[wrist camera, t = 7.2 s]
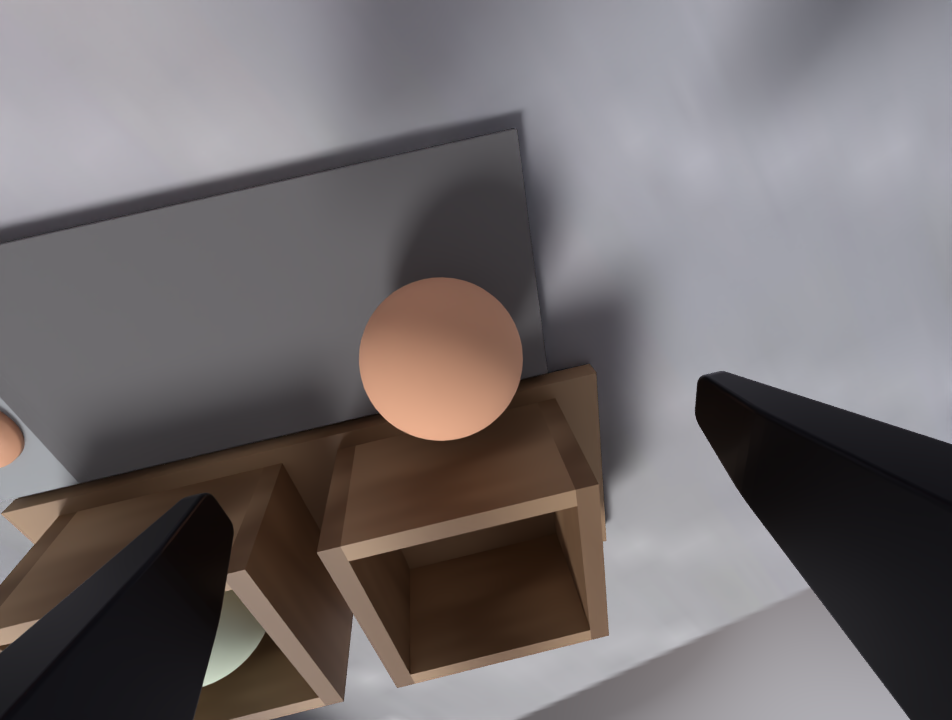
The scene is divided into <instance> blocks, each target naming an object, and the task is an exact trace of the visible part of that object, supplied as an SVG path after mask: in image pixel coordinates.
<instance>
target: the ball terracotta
mask: <svg viewBox="0 0 952 720" xmlns="http://www.w3.org/2000/svg"><path fill="white" fill-rule="evenodd" d="M522 366H523V354H522V344H521V340H520V336H519V333H518V330H517V328H516V325H515V323H514V321H513V319H512V318H511V316H510V314H509V313H508V311H507V310H506V309H505V308H504V306H503V305H502V304H501V303H500V302H499V301H498V300H497V299H496V298H495V297H494V296H492V295H491V294H490V293H488V292H487V291H485V290H484V289H483V288H481V287H479V286H477V285H475V284H472V283H470V282H467V281H464V280H459V279H455V278H445V277H437V278H428V279H422V280H419V281H415V282H412V283H410V284H408V285H405V286H403V287H401V288H400V289H398V290H396V291H395V292H393V293H392V294H391V295H389V296H388V297H387V298H386V299H385V300H384V301H383V302H382V303H381V304H380V305H379V306H378V307H377V308H376V310H375V311H374V313H373V314H372V316H371V317H370V319H369V321H368V323H367V325H366V327H365V330H364V333H363V336H362V339H361V343H360V349H359V368H360V375H361V379H362V382H363V386H364V389H365V391H366V393H367V395H368V397H369V399H370V401H371V402H372V404H373V405H374V407H375V408H376V410H377V411H378V412H379V413H380V414H381V415H382V416H383V417H384V418H385V419H386V420H387V421H388V422H389V423H391V424H392V425H393V426H395V427H396V428H398V429H400V430H402V431H404V432H406V433H408V434H410V435H412V436H415V437H418V438H422V439H427V440H436V441H445V440H454V439H460V438H463V437H467V436H470V435H472V434H474V433H477V432H479V431H480V430H482V429H484V428H485V427H487V426H488V425H490V424H491V423H492V422H493V421H495V420H496V419H497V418H498V417H499V416H500V415H501V414H502V413H503V412H504V411H505V409H506V408H507V406H508V405H509V404H510V402H511V400H512V398H513V396H514V395H515V393H516V391H517V388H518V385H519V382H520V377H521V373H522Z"/></svg>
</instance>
